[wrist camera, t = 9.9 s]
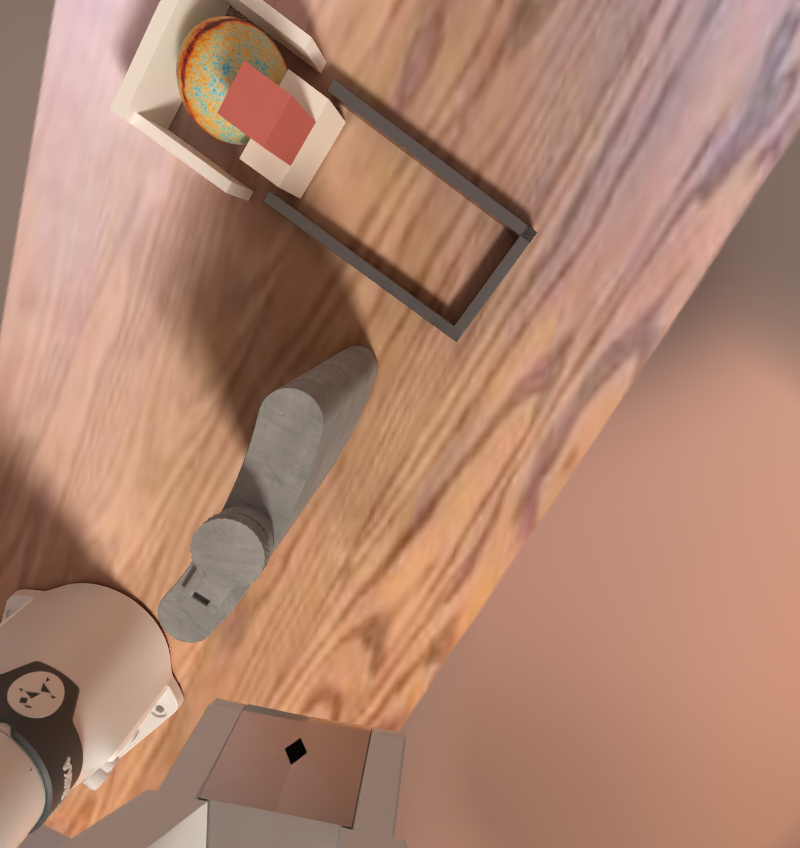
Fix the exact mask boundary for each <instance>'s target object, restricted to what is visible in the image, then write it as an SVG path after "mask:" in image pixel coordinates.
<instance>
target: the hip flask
mask: <svg viewBox="0 0 800 848" xmlns="http://www.w3.org/2000/svg"><path fill="white" fill-rule="evenodd" d="M377 370H378V363H377V359H376V357H375V355H374V354H373V352H372V351H371V350H369V349H368V348H366V347H364V346H360V345H354V346H350V347H348V348H346V349H344V350H343V351H341V352H339V353H338V354H336V355H334V356H333V357H331V358H329V359H327V360H326V361H324V362H322V363H321V364H319V365H317V366H315V367H314V368H312V369H310V370H309V371H307V372H305V373H303V374H302V375H300V376H298V377H297V378H295V379H293V380H292V381H290V382H288V383H286V384H285V385H283V386H281V387H280V388H278V389H276V390H274V391H273V392H271V393H270V394H268V396H267V397H266V398H265V399H264V400H263V402H262V403H261V406H260V409H259V412H258V416H257V420H256V424H255V428H254V431H253V435H252V438H251V441H250V445H249V448H248V451H247V453H246V456H245V459H244V462H243V465H242V467H241V470H240V472H239V475H238V477H237V480H236V482H235V484H234V487H233V489H232V491H231V493H230V495H229V497H228V500H227V502H226V504H225V505H224V507H223V509H222V511H221V512H220V513H219V514H216V515H214V516H213V517H210V518H209V519H208V520H207V521H206V522H204V523H203V525H202V526H200V527H199V528H198V530H197V531H195V534H194V536H193V537H192V542H191V550H190V552H191V554H192V556H191V558H192V560H193V561H192V563H191V564H190V566H189V567H188V568H187V570H186V571H185V573H184V574H183V575H182V576H181V578H180V579H179V580H178V581H177V583H176V584H175V585H174V586H173V588H172V589H171V590H170V591H169V592H168V593H167V594H166V595H165V596H164V598H163V599H162V600H161V602H160V604H159V607H158V617H159V621H160V623H161V625H162V627H163V628H164V629H165V631H166V632H167V633H168V634H169V635H171V636H172V637H174V638H175V639H177V640H180V641H183V642H188V643H194V642H199V641H202V640H204V639H206V638H207V637H208V636H209V635H210V634H211V633H212V632H213V631H214V630H215V629H216V628H217V627H218V626H219V625H220V623H221V622H222V621H223V620H224V619H225V618H226V616H227V615H228V614H229V613H230V612H231V611H232V609H233V608H234V607H235V606H236V604H237V603H238V602H239V600H240V599H241V598H242V596H243V595H244V594H245V592H246V591H247V589H248V588H249V587H250V585H251V584H252V582H254V581H255V580H256V578H258V577H259V576H260V573H261V572H262V571H263V570H264V567H266V566H267V562H268V561H269V558H270V556H271V555H272V554H273V552H274V551H275V549H276V548H277V546H278V545H279V543H280V542H281V541H282V539H283V538H284V536H285V535H286V533H287V532H288V530H289V529H290V528H291V526H292V525H293V523H294V522H295V520H296V519H297V517H298V516H299V514H300V513H301V512H302V510H303V509H304V507H305V506H306V504H307V503H308V501H309V500H310V499H311V497H312V496H313V494H314V493H315V491H316V490H317V488H318V487H319V486H320V484H321V483H322V481H323V480H324V478H325V477H326V475H327V474H328V473H329V471H330V470H331V468H332V467H333V465H334V464H335V462H336V460H337V459H338V457H339V456H340V454H341V452H342V450H343V449H344V447H345V445H346V443H347V442H348V440H349V438H350V436H351V434H352V432H353V431H354V429H355V427H356V425H357V423H358V420H359V418H360V416H361V414H362V412H363V409H364V407H365V405H366V402H367V400H368V397H369V394H370V392H371V389H372V386H373V383H374V380H375V377H376V374H377Z"/></svg>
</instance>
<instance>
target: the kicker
mask: <svg viewBox="0 0 800 848" xmlns="http://www.w3.org/2000/svg"><path fill="white" fill-rule="evenodd" d="M217 114H219V115H220V116H221V117H223V118H224V119H225V120H227V121H228V122H229V123H231V124H232V125H234V126H235V127H236V128H238V129H239V130H240V131H242V132H243V133H244V134H246V135H247V136H248V137H250V140H249V142H248V144H247V146H246V147H245V149H244V151H243V153H242V155H241V157H240V158H239V159H241V160H242V161H243V162H245V163H246V164H247V165H249V166H250V167H251V168H253V169H254V170H256V171H257V172H258V173H260V174H261V175H262V176H264V177H265V178H266V179H268V180H269V181H271V182H272V183H273V184H275V185H276V186H277V187H279V188H281V189H283V190H285V191H287V192H289V193H290V194H292V195H294V196H296V197H298V198H300V199H301V197H302V196H303V194H304V192H305V190H306V189H307V187H308V185H309V184H310V182H311V180H312V179H313V177H314V175H315V174H316V172H317V170H318V169H319V167H320V165H321V163H322V162H323V160H324V158H325V157H326V155H327V153H328V152H329V150H330V148H331V147H332V145H333V143H334V142H335V140H336V138H337V136H338V135H339V133H340V131H341V130H342V128H343V126H344V125H345V123H346V122H345V121H344V119H343V118H342V117H341V115H340V114H339V112H338V111H337V110H336V108H335V107H334V106H333V104H332V103H331V101H330V100H329V99H328V98H327V97H325V96H324V95H323V94H321V93H320V92H319V91H317V90H316V89H315V88H313V87H312V86H311V85H309V84H308V83H307V82H305V81H304V80H303V79H301V78H300V77H299V76H297V75H296V74H295V73H293V72H292V71H291V70H289V69H288V71H287V72H286V74H285V76H284V78H283V80H282V82H281V83H280V85H279V86H278V85H277V84H276V83H274V82H273V81H272V80H270V79H269V78H268V77H266V76H265V75H264V74H262V73H261V72H260V71H258V70H257V69H256V68H254V67H253V66H252V65H250V64H249V63H248V62H246V61H245V60H244V62H243V64H242V66H241V68H240V70H239V72H238V74H237V76H236V78H235V79H234V81H233V83H232V85H231V87H230V89H229V91H228V93H227V95H226V97H225V99H224V101H223V102H222V104H221V106H220V108H219V110H218V112H217Z"/></svg>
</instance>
